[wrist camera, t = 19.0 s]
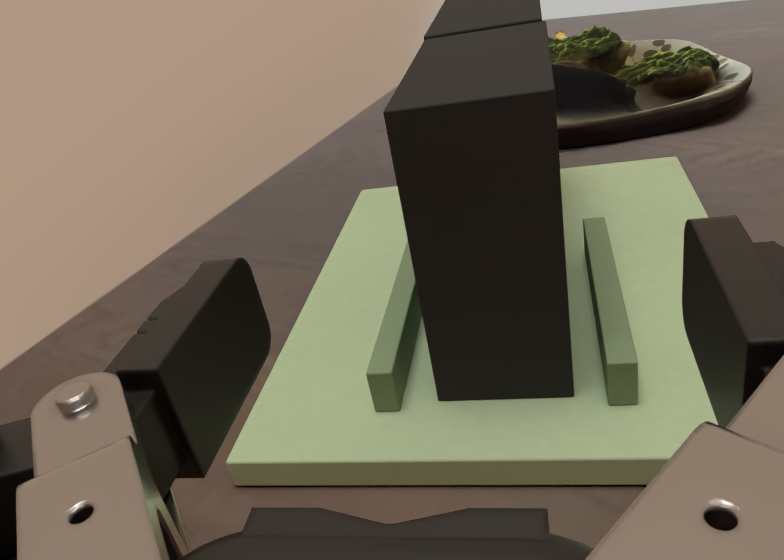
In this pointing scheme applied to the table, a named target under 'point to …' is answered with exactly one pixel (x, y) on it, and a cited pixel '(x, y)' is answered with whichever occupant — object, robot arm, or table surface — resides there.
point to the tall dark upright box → (485, 212)
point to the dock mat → (495, 416)
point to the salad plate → (637, 86)
